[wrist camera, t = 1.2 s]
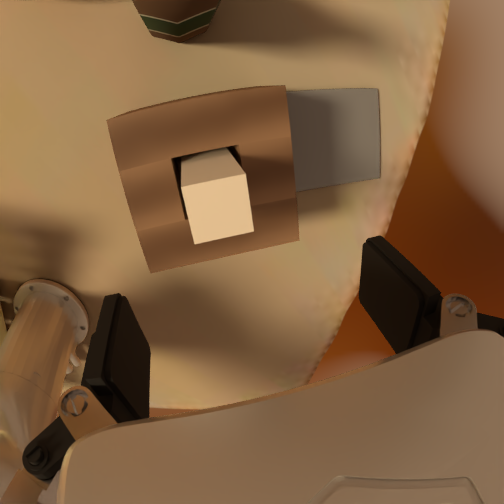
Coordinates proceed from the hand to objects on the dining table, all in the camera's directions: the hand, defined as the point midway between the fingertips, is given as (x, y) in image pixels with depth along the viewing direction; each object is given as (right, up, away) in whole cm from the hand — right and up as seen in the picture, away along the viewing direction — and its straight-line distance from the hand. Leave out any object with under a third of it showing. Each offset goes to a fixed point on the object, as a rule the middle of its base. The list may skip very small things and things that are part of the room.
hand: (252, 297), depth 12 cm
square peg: (-5, +10, +18) cm, 21 cm away
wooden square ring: (-5, +12, +22) cm, 25 cm away
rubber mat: (+10, +15, +23) cm, 30 cm away
